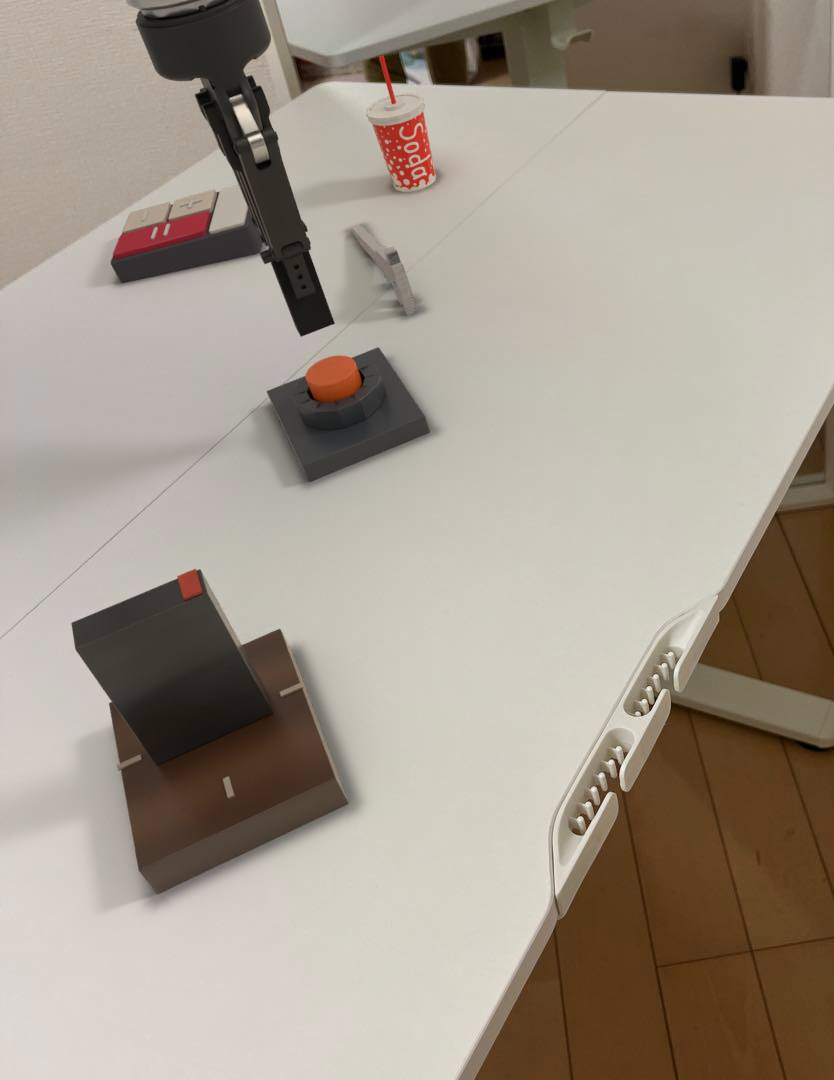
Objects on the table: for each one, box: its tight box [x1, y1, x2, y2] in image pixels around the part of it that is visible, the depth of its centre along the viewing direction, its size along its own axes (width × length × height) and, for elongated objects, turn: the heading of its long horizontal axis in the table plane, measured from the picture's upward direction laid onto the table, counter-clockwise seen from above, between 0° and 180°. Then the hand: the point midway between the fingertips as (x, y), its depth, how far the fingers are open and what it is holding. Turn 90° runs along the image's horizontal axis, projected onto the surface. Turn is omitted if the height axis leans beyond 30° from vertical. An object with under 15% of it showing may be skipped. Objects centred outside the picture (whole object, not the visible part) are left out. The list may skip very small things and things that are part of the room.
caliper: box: [351, 224, 418, 316], centre depth 105 cm, size 20×1×6 cm, turn 22°
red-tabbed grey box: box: [71, 568, 273, 765], centre depth 60 cm, size 7×2×10 cm, turn 114°
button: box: [305, 355, 362, 403], centre depth 86 cm, size 4×4×2 cm
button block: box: [266, 347, 431, 483], centre depth 88 cm, size 12×10×4 cm
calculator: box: [110, 183, 263, 284], centre depth 117 cm, size 11×4×15 cm
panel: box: [108, 628, 350, 895], centre depth 64 cm, size 13×11×3 cm
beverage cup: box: [365, 54, 437, 193], centre depth 115 cm, size 6×6×14 cm
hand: (315, 325), depth 83 cm, fingers closed
